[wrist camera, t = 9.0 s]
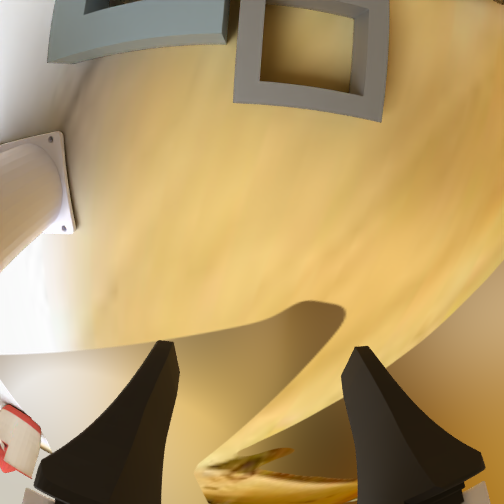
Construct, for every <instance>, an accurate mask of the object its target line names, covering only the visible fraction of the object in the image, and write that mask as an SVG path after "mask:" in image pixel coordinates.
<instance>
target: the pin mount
mask: <svg viewBox="0 0 504 504" xmlns="http://www.w3.org/2000/svg"><path fill="white" fill-rule="evenodd" d="M265 4H271V5H281V6H290V7H297V8H304V9H310V10H316V11H321V12H327V13H331V14H336V15H341V16H345V17H349V18H353V19H354V34H353V51H352V65H351V77H350V88H349V93H345V92H340V91H334V90H329V89H323V88H317V87H310V86H303V85H295V84H286V83H276V82H265V81H260V69H261V55H262V42H263V28H264V15H265ZM388 46H389V0H241V1H240V13H239V24H238V37H237V50H236V64H235V79H234V95H233V103H246V104H262V105H274V106H285V107H294V108H302V109H310V110H317V111H324V112H330V113H336V114H342V115H347V116H353V117H358V118H363V119H367V120H372V121H376V122H381V121H382V114H383V106H384V97H385V87H386V76H387V63H388Z"/></svg>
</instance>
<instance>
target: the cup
mask: <svg viewBox="0 0 504 504" xmlns="http://www.w3.org/2000/svg"><path fill="white" fill-rule="evenodd" d="M494 1H495V2H497V3H499V4H502V5H504V0H494Z"/></svg>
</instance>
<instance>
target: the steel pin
mask: <svg viewBox="0 0 504 504" xmlns="http://www.w3.org/2000/svg"><path fill="white" fill-rule="evenodd" d="M121 1H122V2H124V3H125V4H127V3H132V2H137V1H142V0H121Z"/></svg>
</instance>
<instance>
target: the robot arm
mask: <svg viewBox="0 0 504 504" xmlns="http://www.w3.org/2000/svg"><path fill="white" fill-rule="evenodd" d="M51 137H53V142H52V140H51ZM64 226H65V227H66V228H67V229H66V228H65V227H64ZM75 230H76V225H75V220H74V215H73V210H72V204H71V198H70V192H69V185H68V178H67V170H66V162H65V151H64V139H63V134H62V132H60V131H55V132H50V133H46V134H41V135H36V136H32V137H28V138H24V139H20V140H16V141H12V142H8V143H5V144H1V145H0V272H1V271H2V270H3V269H4V268H5V267H6V266H7V265H8V264H9V263H10V262H11V261H12V260H13V259H14V258H15V257H16V256H17V255H18V254H19V253H20V252H21V251H22V250H23V249H25V248H26V247H27V246H28V245H29V244H30V243H31V242H32V241H33V240H34V239H35V238H36V237H38V236H39V235H40V234H41V233H52V234H73V233H74V232H75ZM179 374H180V371H179V366H178V361H177V356H176V352H175V347H174V343H173V342H169V341H161V340H159V341H157V342H156V344H155V345H154V347H153V349H152V350H151V352H150V353H149V355H148V356H147V358H146V359H145V361H144V362H143V364H142V365H141V367H140V368H139V369H138V371H137V372H136V374H135V375H134V376H133V378H132V379H131V380H130V382H129V383H128V384H127V386H126V387H125V388H124V389H123V391H122V392H121V393H120V394H119V395H118V397H117V398H116V399H115V400H114V402H113V403H112V404H111V405H110V406H109V407H108V408H107V409H106V410H105V411H104V412H103V413H102V414H101V415H100V416H99V417H98V418H97V419H96V420H95V421H94V422H93V423H92V424H91V425H90V426H89V427H88V428H86V429H85V430H84V431H83V432H82V433H80V434H79V435H78V436H77V437H75V438H74V439H73V440H71V441H70V442H69V443H67V444H66V445H65V446H63V447H62V448H60V449H59V450H57V451H55V452H54V453H52V454H50V455H49V456H47V457H46V458H44V459H42V460H41V463H40V465H39V467H38V471H37V474H36V478H35V481H34V487H35V488H36V489H38V490H39V491H41V492H43V493H45V494H47V495H49V496H51V497H53V498H55V500H52V499H50V498H47V497H45V496H43V495H41V494H39V493H37V492H35V491H33V490H31V489H29V488H26V490H25V494H24V498H23V502H22V504H161V486H162V471H163V459H164V450H165V443H166V437H167V433H168V430H169V425H170V421H171V417H172V413H173V408H174V405H175V400H176V396H177V390H178V382H179ZM341 380H342V389H343V396H344V400H345V405H346V409H347V413H348V417H349V421H350V425H351V429H352V434H353V438H354V443H355V449H356V459H357V471H358V472H357V475H358V501H357V504H490V500H489V496H488V492H487V488H486V484H485V482H484V481H483V482H481V483H479V484H478V485H476V486H474V487H473V488H470V489H469V490H467V491H465V492H463V493H462V490H461V489H463V488H464V487H465V484H464V481H466V480H468V479H469V478H471V477H473V476H475V475H476V474H478V473H480V472H481V471H483V470H484V469H485V464H484V461H483V458H482V455H481V452H479V451H477V450H475V449H473V448H471V447H469V446H467V445H466V444H464V443H462V442H461V441H459V440H458V439H456V438H454V437H453V436H452V435H450V434H449V433H447V432H446V431H445V430H444V429H442V428H441V427H440V426H438V425H437V424H436V423H435V422H434V421H432V420H431V419H430V418H429V417H428V416H427V415H426V414H425V413H424V412H423V411H422V410H420V409H419V407H418V406H417V405H416V404H415V403H414V402H413V401H412V400H411V399H410V398H409V397H408V396H407V394H406V393H405V392H404V391H403V390H402V389H401V387H400V386H399V385H398V384H397V382H396V381H395V380H394V379H393V378H392V376H391V375H390V374H389V372H388V371H387V370H386V369H385V367H384V366H383V365H382V363H381V362H380V361H379V359H378V358H377V357H376V356H375V354H374V353H373V352H372V350H371V349H370V348H369V347H368V346H361V347H355V348H354V350H353V352H352V354H351V356H350V358H349V361H348V363H347V365H346V367H345V369H344V371H343V373H342V375H341Z"/></svg>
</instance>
